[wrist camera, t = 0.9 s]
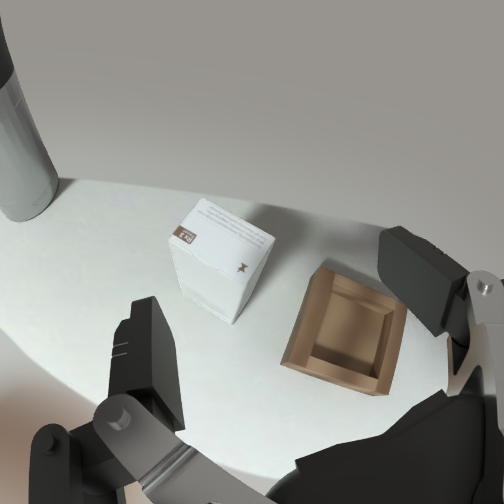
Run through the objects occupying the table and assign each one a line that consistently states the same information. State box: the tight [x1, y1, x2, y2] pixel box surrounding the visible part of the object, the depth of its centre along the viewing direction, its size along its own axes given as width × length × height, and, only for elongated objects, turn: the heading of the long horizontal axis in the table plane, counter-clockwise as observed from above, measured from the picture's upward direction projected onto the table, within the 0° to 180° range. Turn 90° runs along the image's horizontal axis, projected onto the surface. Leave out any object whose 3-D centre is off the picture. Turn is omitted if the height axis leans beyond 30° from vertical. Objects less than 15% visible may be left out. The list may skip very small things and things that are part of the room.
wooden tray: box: [280, 267, 408, 396], centre depth 29 cm, size 11×10×3 cm
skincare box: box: [168, 197, 275, 325], centre depth 25 cm, size 6×4×12 cm
